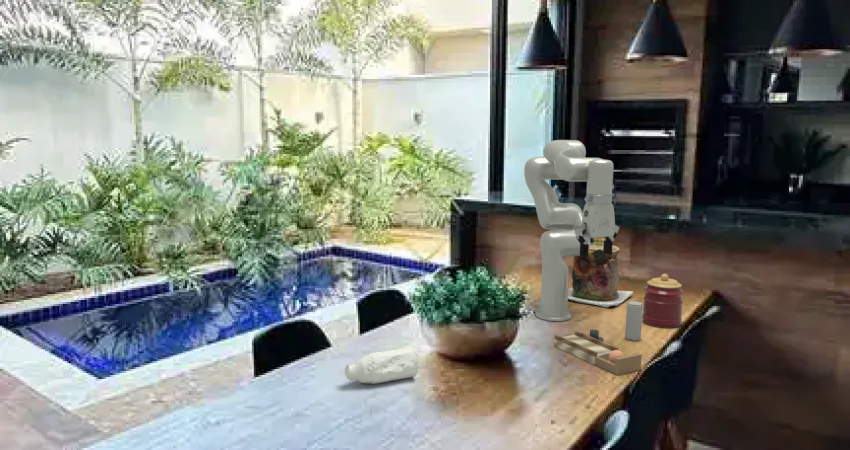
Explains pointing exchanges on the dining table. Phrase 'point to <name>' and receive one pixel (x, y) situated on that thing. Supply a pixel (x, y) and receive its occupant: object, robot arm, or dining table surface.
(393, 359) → the white bottle
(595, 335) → the tee
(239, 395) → the dining table surface
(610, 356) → the ball
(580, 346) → the lane
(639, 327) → the beverage can
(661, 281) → the canister
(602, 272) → the cookie jar
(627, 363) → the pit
